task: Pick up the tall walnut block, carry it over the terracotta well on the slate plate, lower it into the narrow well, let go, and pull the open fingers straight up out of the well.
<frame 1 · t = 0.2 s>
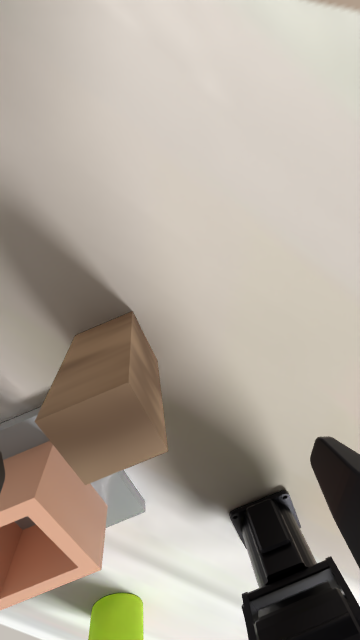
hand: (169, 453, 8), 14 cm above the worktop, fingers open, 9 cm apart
terracotta well: (39, 483, 26), on the worktop
soap dispenser: (116, 603, 34), on the worktop
walnut block: (117, 348, 22), on the worktop
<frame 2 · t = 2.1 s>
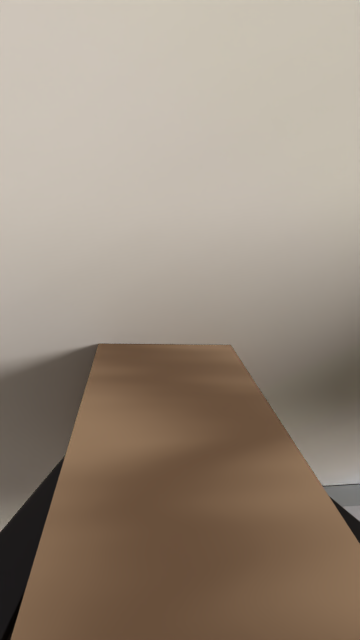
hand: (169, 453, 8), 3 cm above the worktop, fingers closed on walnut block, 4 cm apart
terracotta well: (313, 576, 16), on the worktop
walnut block: (163, 399, 11), on the worktop, touching gripper
when the fingers open (7 cm above the worktop, at t = 5.6 s): walnut block drops 3 cm, resting on terracotta well.
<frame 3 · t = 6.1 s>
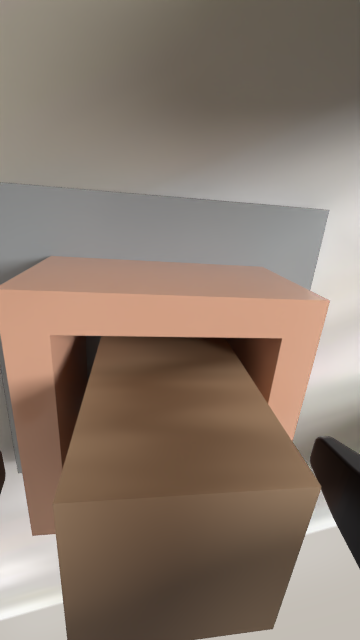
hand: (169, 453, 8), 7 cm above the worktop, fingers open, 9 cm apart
terracotta well: (156, 346, 15), on the worktop
walnut block: (157, 355, 14), point 1 cm above the worktop, touching terracotta well
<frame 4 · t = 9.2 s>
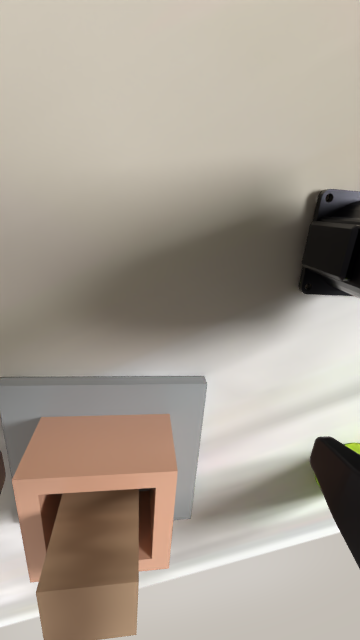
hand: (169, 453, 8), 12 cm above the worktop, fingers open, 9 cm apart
terracotta well: (109, 452, 23), on the worktop
walnut block: (108, 463, 22), point 1 cm above the worktop, touching terracotta well
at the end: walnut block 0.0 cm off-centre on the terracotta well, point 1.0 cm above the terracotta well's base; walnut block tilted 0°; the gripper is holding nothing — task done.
